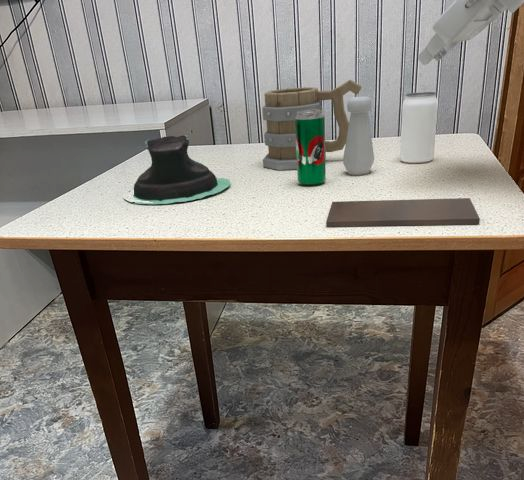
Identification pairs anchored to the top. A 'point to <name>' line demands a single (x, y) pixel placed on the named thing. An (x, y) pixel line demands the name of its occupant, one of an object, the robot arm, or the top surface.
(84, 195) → the top surface
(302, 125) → the soda can
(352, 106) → the salt shaker
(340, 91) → the tankard
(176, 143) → the dark flared mound
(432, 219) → the dark brown board
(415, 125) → the can
